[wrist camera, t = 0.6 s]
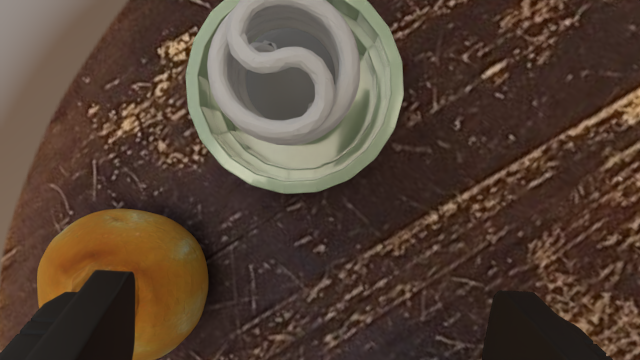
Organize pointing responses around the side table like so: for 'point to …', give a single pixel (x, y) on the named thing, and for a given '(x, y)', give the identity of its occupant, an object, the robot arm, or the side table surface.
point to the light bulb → (284, 69)
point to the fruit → (134, 271)
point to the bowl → (325, 152)
